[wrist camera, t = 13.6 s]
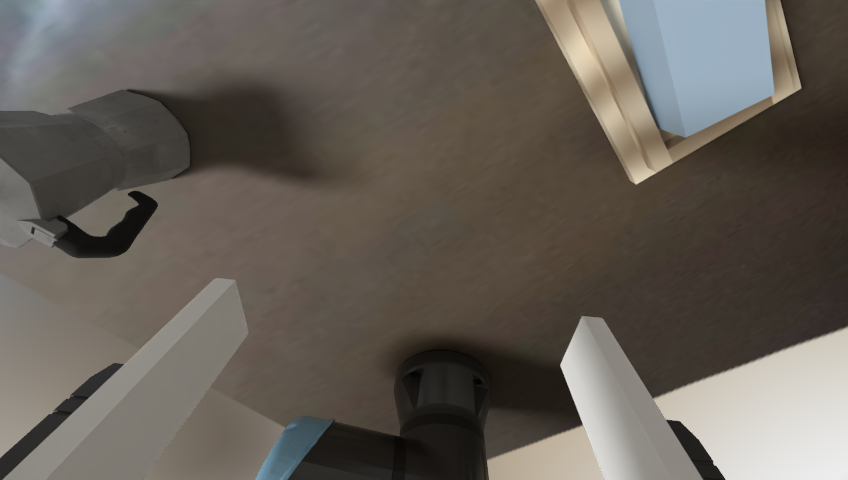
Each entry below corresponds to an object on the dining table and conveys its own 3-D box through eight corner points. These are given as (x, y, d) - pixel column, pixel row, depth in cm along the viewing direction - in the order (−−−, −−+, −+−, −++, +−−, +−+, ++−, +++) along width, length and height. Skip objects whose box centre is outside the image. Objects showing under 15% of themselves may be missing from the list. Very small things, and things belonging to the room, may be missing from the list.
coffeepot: (73, 129, 34) (-243, 192, 18) (92, 51, 30) (-289, 45, 14) (211, 216, 38) (51, 326, 23) (243, 158, 34) (77, 242, 19)
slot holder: (788, 87, 28) (819, 89, 26) (630, 180, 33) (644, 189, 31) (721, -173, 21) (756, -201, 19) (532, -4, 26) (541, -10, 24)
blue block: (615, -11, 25) (647, -23, 21) (701, -68, 23) (755, -94, 19) (654, 127, 29) (685, 137, 25) (727, 88, 27) (774, 94, 24)
